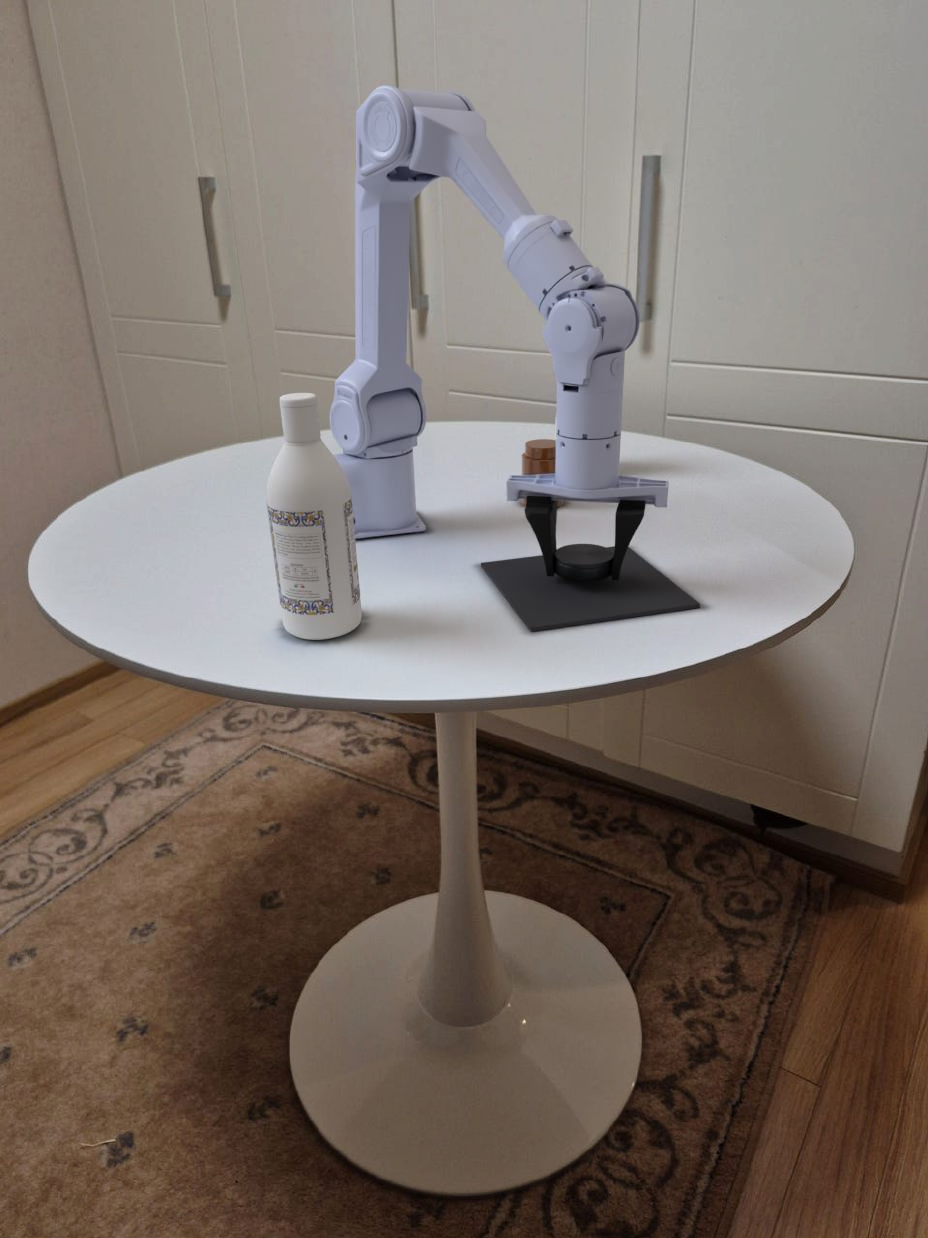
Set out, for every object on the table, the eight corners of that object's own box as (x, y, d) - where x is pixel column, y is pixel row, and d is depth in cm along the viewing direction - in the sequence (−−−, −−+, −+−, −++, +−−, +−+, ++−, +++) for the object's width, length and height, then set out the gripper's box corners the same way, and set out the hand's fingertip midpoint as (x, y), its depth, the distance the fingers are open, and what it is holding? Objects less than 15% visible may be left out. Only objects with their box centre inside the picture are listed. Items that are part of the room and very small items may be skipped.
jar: (529, 511, 103) (530, 450, 100) (516, 498, 108) (515, 440, 105) (570, 506, 105) (571, 446, 101) (554, 494, 109) (555, 436, 106)
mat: (530, 631, 74) (530, 627, 73) (480, 566, 88) (480, 562, 87) (699, 607, 77) (700, 603, 77) (625, 548, 91) (625, 544, 91)
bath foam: (332, 602, 80) (310, 384, 72) (378, 623, 76) (359, 394, 67) (268, 625, 76) (236, 397, 68) (312, 650, 72) (284, 408, 63)
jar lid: (610, 584, 78) (611, 566, 78) (549, 580, 80) (549, 562, 79) (615, 561, 83) (616, 545, 83) (558, 558, 85) (558, 542, 84)
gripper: (673, 424, 78) (662, 563, 84) (515, 420, 81) (516, 555, 87) (671, 442, 72) (660, 591, 78) (501, 438, 75) (502, 581, 81)
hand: (583, 574), depth 82 cm, fingers closed on jar lid, 5 cm apart
